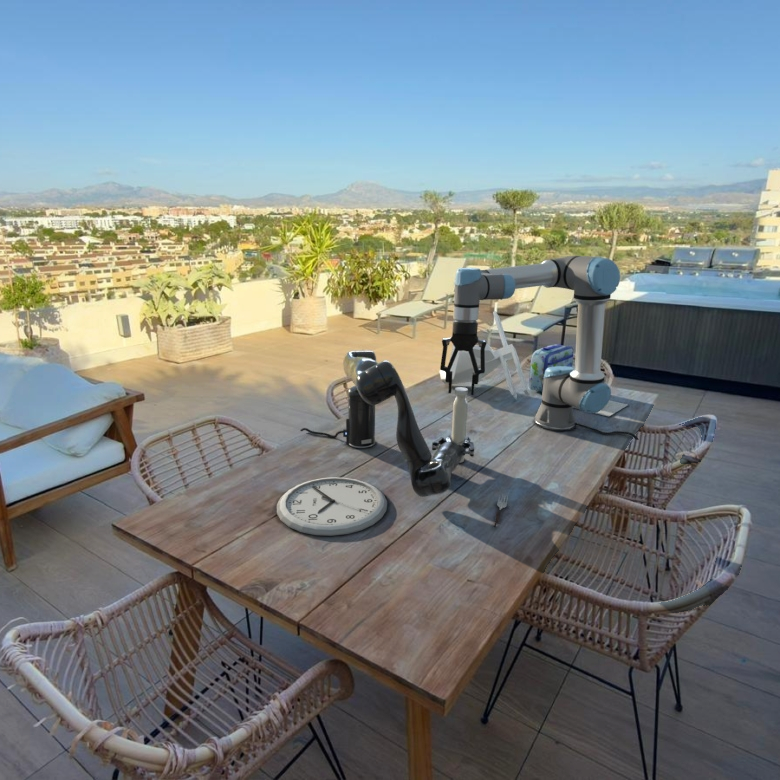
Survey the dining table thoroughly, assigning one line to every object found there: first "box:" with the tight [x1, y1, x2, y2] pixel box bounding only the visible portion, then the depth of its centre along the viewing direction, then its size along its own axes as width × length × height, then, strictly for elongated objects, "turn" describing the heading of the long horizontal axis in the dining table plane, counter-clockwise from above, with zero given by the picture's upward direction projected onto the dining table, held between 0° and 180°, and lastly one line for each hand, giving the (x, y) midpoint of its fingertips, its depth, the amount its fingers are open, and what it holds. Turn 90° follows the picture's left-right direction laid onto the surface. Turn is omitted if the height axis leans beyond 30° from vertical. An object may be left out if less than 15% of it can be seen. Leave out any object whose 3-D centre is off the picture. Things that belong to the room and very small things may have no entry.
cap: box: [454, 386, 469, 396], centre depth 165 cm, size 4×4×2 cm
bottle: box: [451, 394, 469, 464], centre depth 169 cm, size 4×4×24 cm
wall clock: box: [276, 476, 388, 537], centre depth 142 cm, size 30×2×30 cm
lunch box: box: [528, 344, 574, 393], centre depth 247 cm, size 26×11×21 cm, turn 134°
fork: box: [493, 493, 509, 528], centre depth 139 cm, size 3×16×2 cm, turn 160°
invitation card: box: [573, 399, 629, 418], centre depth 226 cm, size 21×1×15 cm
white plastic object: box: [438, 310, 531, 400], centre depth 245 cm, size 37×45×31 cm
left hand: (460, 438), depth 172 cm, fingers closed on bottle, 4 cm apart
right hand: (461, 392), depth 165 cm, fingers open, 6 cm apart
